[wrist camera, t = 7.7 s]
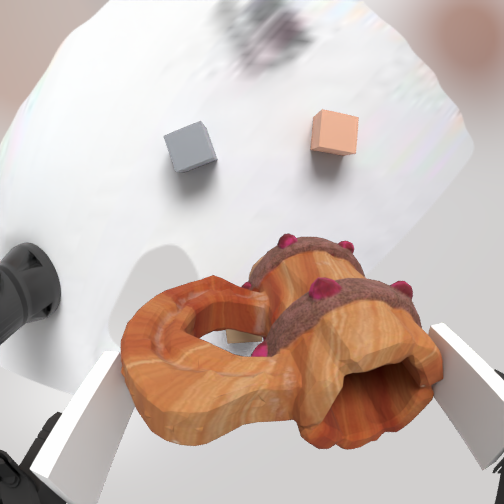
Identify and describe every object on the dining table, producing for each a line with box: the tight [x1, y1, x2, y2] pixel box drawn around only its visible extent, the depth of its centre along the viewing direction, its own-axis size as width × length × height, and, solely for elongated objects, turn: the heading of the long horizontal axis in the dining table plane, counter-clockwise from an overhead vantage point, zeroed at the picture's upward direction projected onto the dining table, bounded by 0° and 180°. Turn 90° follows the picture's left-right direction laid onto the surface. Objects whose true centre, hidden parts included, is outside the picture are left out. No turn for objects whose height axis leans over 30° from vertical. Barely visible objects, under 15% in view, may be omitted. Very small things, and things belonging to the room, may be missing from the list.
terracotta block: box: [310, 109, 359, 156], centre depth 34 cm, size 5×5×5 cm
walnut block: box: [226, 329, 262, 343], centre depth 41 cm, size 5×5×5 cm
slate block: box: [164, 121, 218, 172], centre depth 34 cm, size 5×5×5 cm
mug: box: [121, 234, 443, 449], centre depth 14 cm, size 15×8×15 cm, turn 84°
